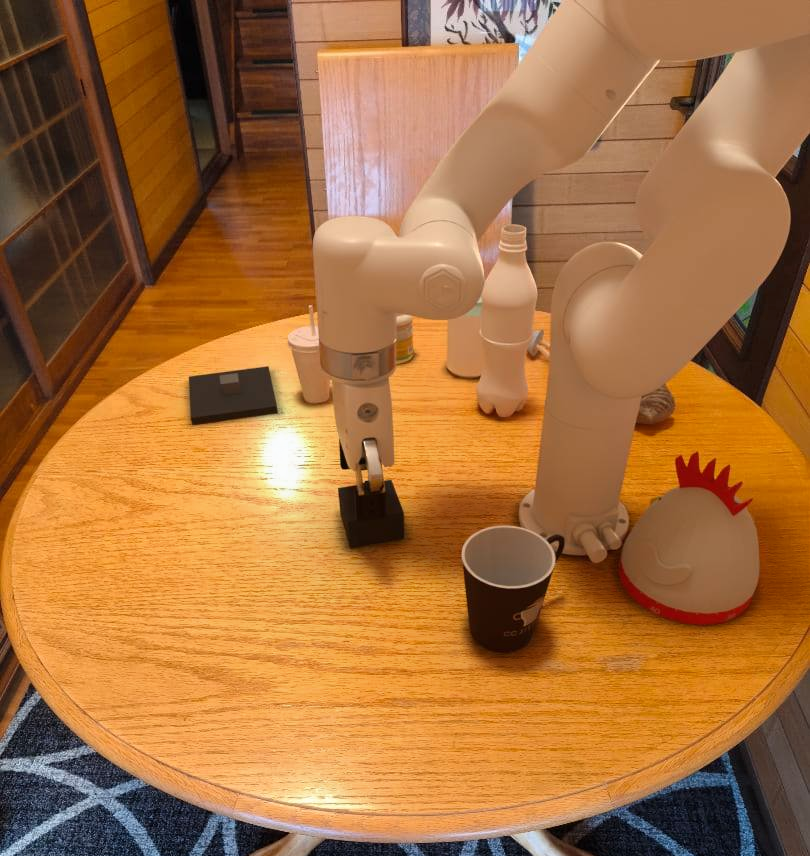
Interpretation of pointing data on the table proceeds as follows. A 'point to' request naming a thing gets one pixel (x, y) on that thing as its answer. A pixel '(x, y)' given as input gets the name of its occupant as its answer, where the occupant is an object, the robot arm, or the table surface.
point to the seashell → (656, 406)
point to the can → (465, 344)
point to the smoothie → (309, 362)
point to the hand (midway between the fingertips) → (362, 491)
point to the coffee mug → (506, 584)
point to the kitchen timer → (693, 549)
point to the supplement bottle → (404, 338)
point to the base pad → (231, 395)
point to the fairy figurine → (537, 342)
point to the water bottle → (507, 326)
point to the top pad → (373, 529)
